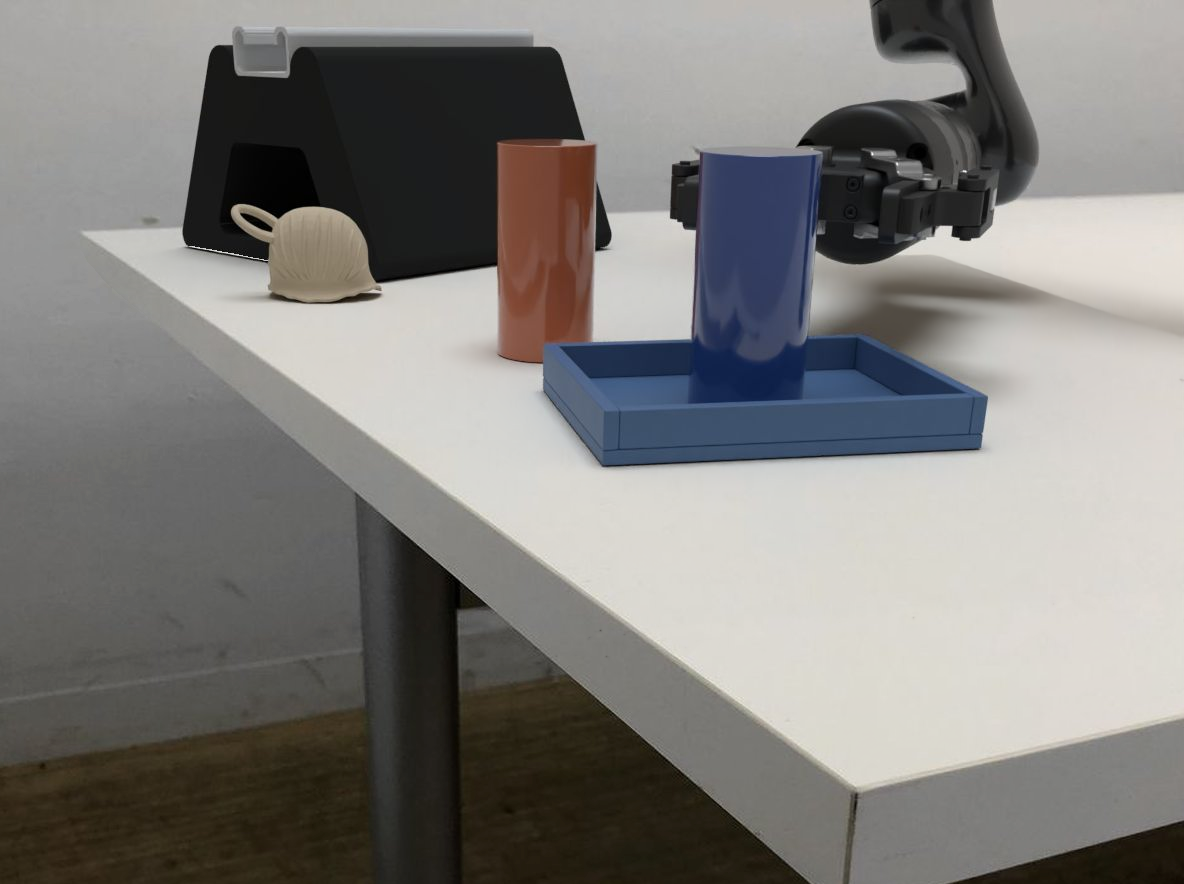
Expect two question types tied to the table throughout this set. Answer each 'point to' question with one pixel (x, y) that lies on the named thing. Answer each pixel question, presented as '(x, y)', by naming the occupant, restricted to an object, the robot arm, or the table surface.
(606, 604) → the table surface
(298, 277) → the decorative ornament
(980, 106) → the robot arm
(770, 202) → the blue tall cylinder
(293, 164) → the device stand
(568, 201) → the cylinder
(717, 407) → the blue tray
